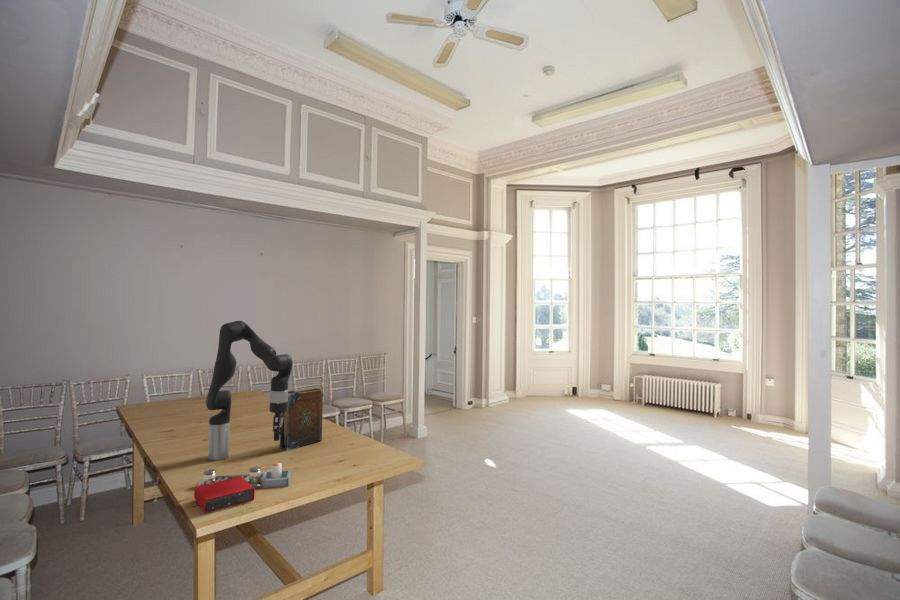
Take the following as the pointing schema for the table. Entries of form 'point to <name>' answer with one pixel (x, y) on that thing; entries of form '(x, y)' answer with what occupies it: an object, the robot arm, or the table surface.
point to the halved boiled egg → (276, 470)
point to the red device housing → (223, 494)
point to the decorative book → (302, 419)
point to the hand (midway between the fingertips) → (277, 437)
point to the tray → (269, 482)
